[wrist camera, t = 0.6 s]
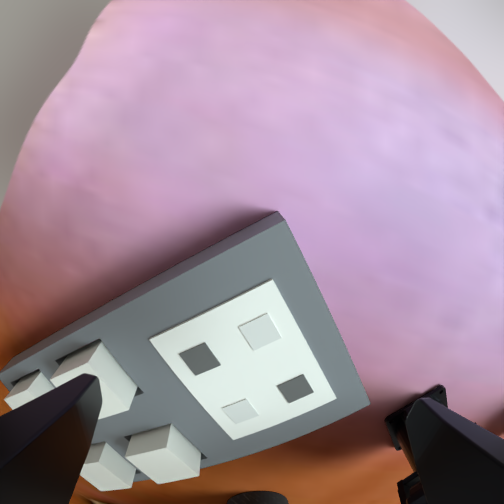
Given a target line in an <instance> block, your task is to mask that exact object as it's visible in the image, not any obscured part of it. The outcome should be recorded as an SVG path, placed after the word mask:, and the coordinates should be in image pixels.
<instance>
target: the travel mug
mask: <svg viewBox="0 0 504 504" xmlns="http://www.w3.org/2000/svg"><path fill="white" fill-rule="evenodd" d="M227 504H288V500H287V498H286V497H285V496H283V495H281V494H279V493H275V492H269V491H253V492H246V493H242V494H239V495H236V496H234V497H232V498H231V499H229V500H228V502H227Z"/></svg>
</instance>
